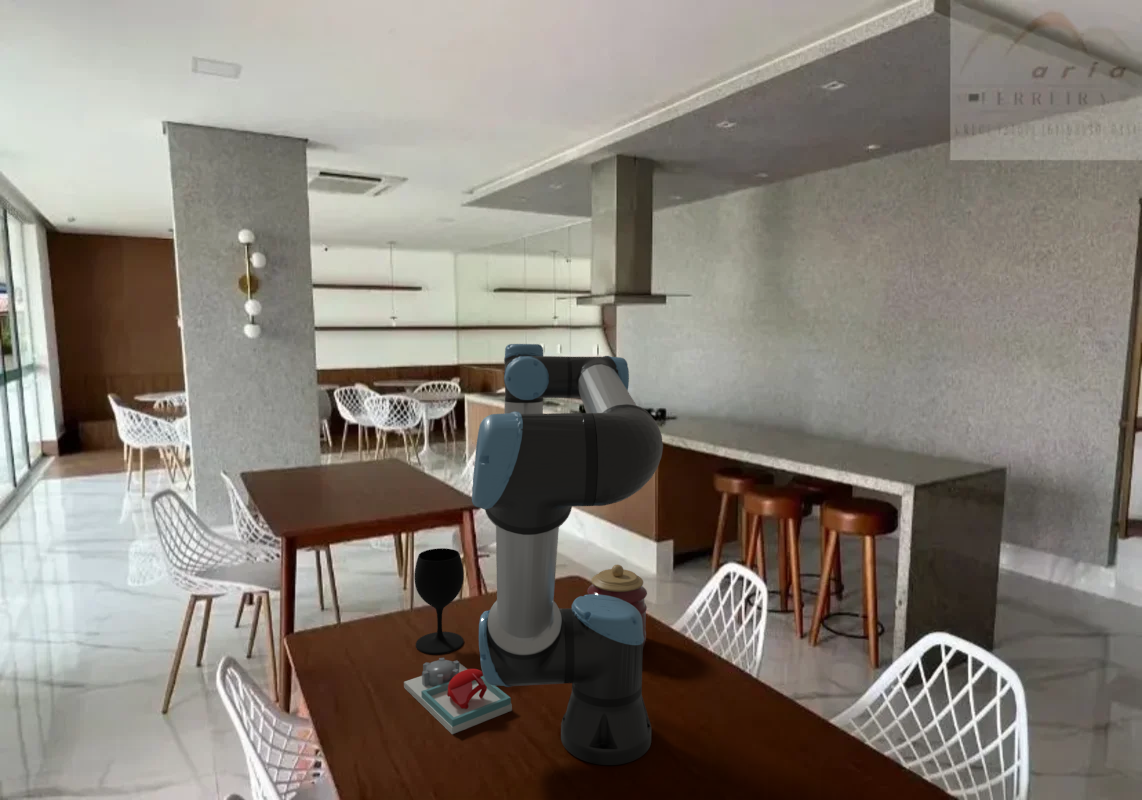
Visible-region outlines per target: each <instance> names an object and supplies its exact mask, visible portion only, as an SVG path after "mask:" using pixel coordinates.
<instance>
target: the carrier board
mask: <svg viewBox="0 0 1142 800" xmlns="http://www.w3.org/2000/svg"><path fill="white" fill-rule="evenodd" d="M467 669H468V668H467V667H465V666H464V665H463V664H461V663H460V661H458V659H457V660H454V661H452V660H448V659H445V657H439V658H438V660H434V661H431V662H427V661H426V662H425V663H423V664H422V671H421V675H420V676H417V677H414V678H411V679H408V680H405V681H403V688H404V689H405V690H406V691H407V693H409V694H410V695H411V696H412V697H413V698H414V699H415V700H416V701H417V702H418V703H420V705H421V706H422V707H423V708H425V710H427V712H429V714H431V716H433V717H434V719H436V720H437V721H438V722H439V723H440V724H441V725H442V726H443V727H444V728H445V729H446V730H447V731H448V732H449V733H450V734H451V735H454V734H456V733H459V732H462V731H464V730H467V729H470V728H472V727H474V726H477V725H479V724H481V723H484V722H487V721H490V720H491V719H494V718H496V717H499V716H501V715H504V714H507V713H508V712H512V711H513V707H512V706H513V705H512V701H511V700H512V698H511V697H510V696H509V695H508V694H507V693H506V692H504V691H503V690H502V689H500V688H499V687H498V686H496V685H490V684H489V683H487V682H486V680H485V678H484V676H482V677H481V678H482V680H483V682H484V684H485V685H486V686H487V690H486V692H485V694H484V696H483V698H480V697H479V694H480V692H481V690H482V689H481V690H480V691H478V692H477V693H476V694H475V695H474V696H473V697H472V698H471V699H470V701H469V702H468V706H469V707H468V708H467V709H465V708H463V709H462V708H460V706H459V705H457V704H456V703H455V702H454V701H453V700H452V699H451V697H448V696H447V693H448V685H449V682H450V680H451V679H452V678H453V677H454V676H455V675H456V674H458V673H459V672H461V671H464V670H467ZM478 685H479V684H478V683H477V681H476V680H474V681H472V690H473V689H474V688H475V687H476V686H478Z"/></svg>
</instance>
